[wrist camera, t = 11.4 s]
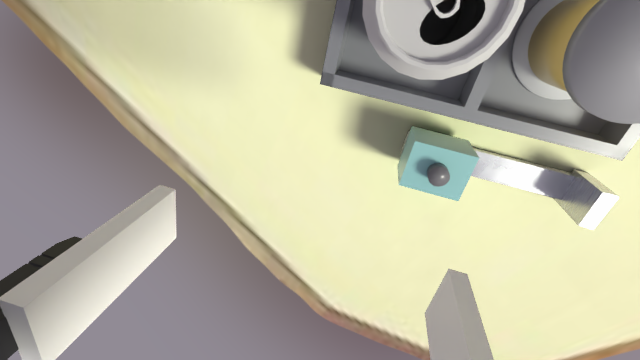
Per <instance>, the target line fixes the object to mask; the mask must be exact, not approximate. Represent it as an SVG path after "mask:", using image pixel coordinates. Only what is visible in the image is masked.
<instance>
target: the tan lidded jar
mask: <svg viewBox="0 0 640 360" xmlns="http://www.w3.org/2000/svg"><path fill="white" fill-rule="evenodd" d="M528 61H529V64H530V67H531V69H532V71H533V73H534V74H535V75H536V76H537V77H538V78H539V79H540V80H541V81H543V82H545V83H547V84H549V85H551V86H554V87H556V88H559V89H561V90H564V91H566V92H568V94H569V96H570V97H571V99H572V100H573V101H574V102H575V103H576V104H577V105H578V106H579V107H580V108H582V109H583V110H585V111H587V112H589V113H591V114H593V115H595V116H597V117H599V118H601V119H604V120H607V121H610V122H616V123H623V124H638V123H640V0H564V1H562V2H560V3H559V4H557V5H556V6H555V7H553V8H552V9H551V10H550V11H549V12H548V13H547V14H546V15H545V16H544V17H543V18H542V19H541V20H540V22H539V23H538V25H537V26H536V28H535V30H534V31H533V34H532V36H531V38H530V42H529V47H528Z"/></svg>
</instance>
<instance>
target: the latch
mask: <svg viewBox="0 0 640 360" xmlns="http://www.w3.org/2000/svg"><path fill="white" fill-rule="evenodd" d="M478 160H479V156H478V155H477V153H476V152H475V150H474V149H473V147H472V146H471V144H470V142H469V141H468V140H464V139H460V138H457V137H453V136H449V135H445V134H441V133H437V132H433V131H429V130H426V129H422V128H418V127H414V126H412V127H411V130H410V133H409V136H408V139H407V141H406V144H405V147H404V150H403V152H402V155H401V158H400V161H399V163H398V180H399V185H401V186H405V187H408V188H412V189H416V190H419V191H423V192H427V193H430V194H434V195H438V196H441V197H445V198H449V199H452V200H456V201H459V199H460V196H461V194H462V192H463V190H464V188H465V186H466V184H467V182H468V180H469V178H470V176H471V174H472V172H473V170H474V168H475V166H476V164H477V162H478Z"/></svg>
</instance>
